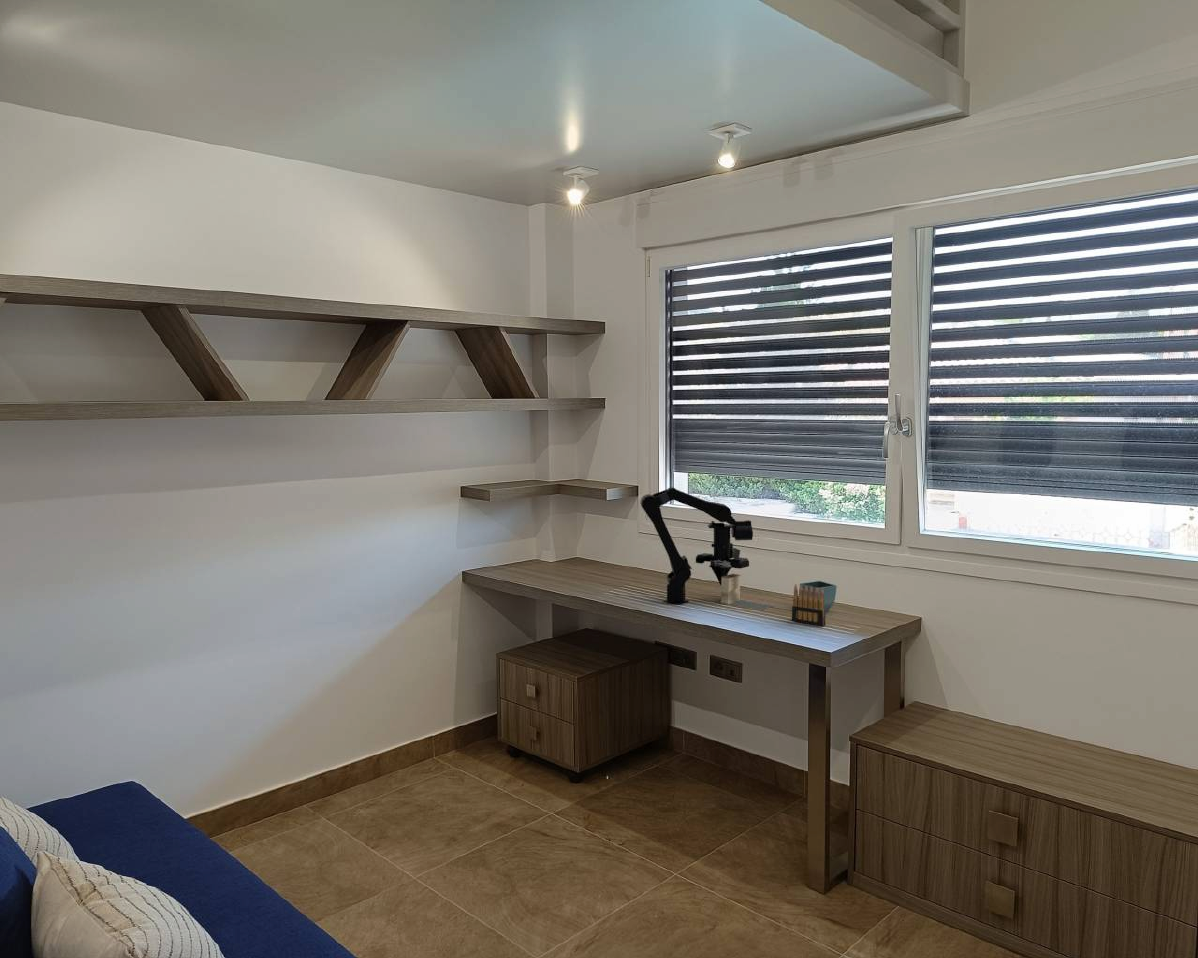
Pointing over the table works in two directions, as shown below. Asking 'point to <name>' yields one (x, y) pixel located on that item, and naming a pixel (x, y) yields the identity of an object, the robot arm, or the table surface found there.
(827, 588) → the flower pot
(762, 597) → the table surface
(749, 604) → the mat
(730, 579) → the slab
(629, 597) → the table surface
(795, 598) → the ammunition clip
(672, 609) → the table surface
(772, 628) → the table surface
